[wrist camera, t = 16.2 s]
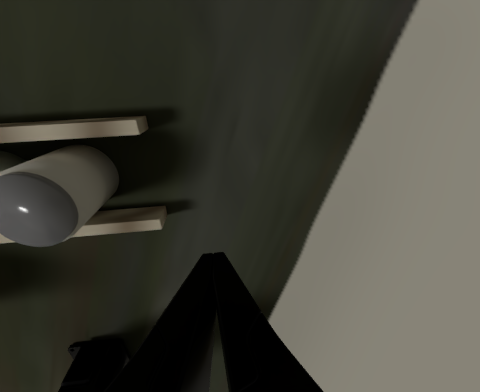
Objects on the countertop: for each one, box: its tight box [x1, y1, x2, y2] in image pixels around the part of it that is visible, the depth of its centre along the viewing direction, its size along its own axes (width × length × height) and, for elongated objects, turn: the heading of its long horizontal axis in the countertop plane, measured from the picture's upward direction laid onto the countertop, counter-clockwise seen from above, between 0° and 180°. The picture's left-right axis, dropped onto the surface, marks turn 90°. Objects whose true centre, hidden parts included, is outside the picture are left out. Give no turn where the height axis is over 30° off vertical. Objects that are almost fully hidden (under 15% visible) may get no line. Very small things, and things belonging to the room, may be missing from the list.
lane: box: [0, 116, 167, 243], centre depth 17 cm, size 19×9×3 cm, turn 92°
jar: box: [0, 144, 119, 247], centre depth 16 cm, size 5×5×7 cm
